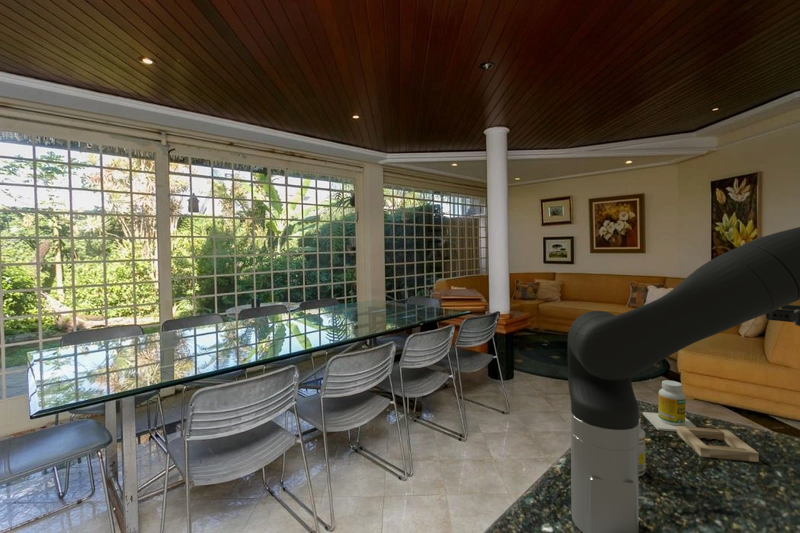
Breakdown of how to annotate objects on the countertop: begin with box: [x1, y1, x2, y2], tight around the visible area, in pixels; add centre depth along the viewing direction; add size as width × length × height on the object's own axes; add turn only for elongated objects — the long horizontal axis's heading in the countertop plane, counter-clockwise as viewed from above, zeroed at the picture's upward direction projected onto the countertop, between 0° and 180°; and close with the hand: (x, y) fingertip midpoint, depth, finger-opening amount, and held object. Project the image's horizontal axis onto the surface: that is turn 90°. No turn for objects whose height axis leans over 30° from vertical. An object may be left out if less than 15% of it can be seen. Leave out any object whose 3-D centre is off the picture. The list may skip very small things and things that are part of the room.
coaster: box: [642, 411, 697, 433], centre depth 91 cm, size 9×9×1 cm
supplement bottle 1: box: [639, 418, 646, 477], centre depth 72 cm, size 6×6×10 cm
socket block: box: [676, 426, 760, 463], centre depth 80 cm, size 10×10×2 cm
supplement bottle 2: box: [657, 380, 686, 426], centre depth 91 cm, size 5×5×10 cm
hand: (774, 311), depth 74 cm, fingers open, 8 cm apart
